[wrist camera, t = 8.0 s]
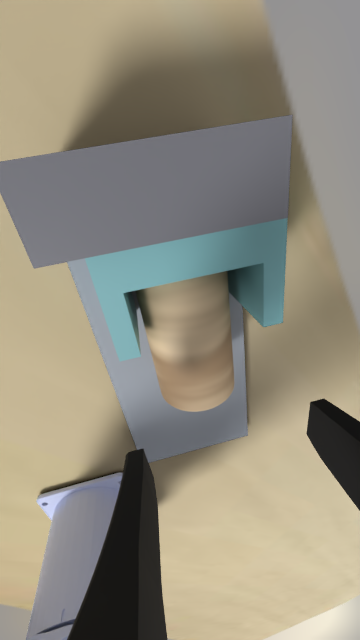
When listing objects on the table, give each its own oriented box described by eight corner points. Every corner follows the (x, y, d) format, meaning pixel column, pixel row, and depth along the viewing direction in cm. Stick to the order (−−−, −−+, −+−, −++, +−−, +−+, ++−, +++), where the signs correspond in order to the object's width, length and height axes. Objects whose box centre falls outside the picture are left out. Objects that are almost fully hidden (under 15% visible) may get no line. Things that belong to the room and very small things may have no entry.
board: (245, 430, 25) (247, 435, 24) (142, 458, 24) (142, 464, 23) (234, 204, 15) (238, 204, 15) (61, 237, 14) (58, 239, 14)
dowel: (224, 353, 19) (244, 403, 15) (159, 365, 19) (161, 418, 15) (215, 244, 15) (238, 268, 11) (134, 258, 15) (126, 288, 11)
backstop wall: (226, 205, 15) (287, 217, 9) (70, 235, 14) (33, 268, 9) (222, 144, 14) (292, 114, 8) (48, 173, 13) (-13, 163, 7)
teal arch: (242, 287, 17) (282, 322, 13) (120, 314, 16) (119, 361, 12) (238, 205, 15) (287, 213, 10) (96, 232, 14) (83, 253, 9)
